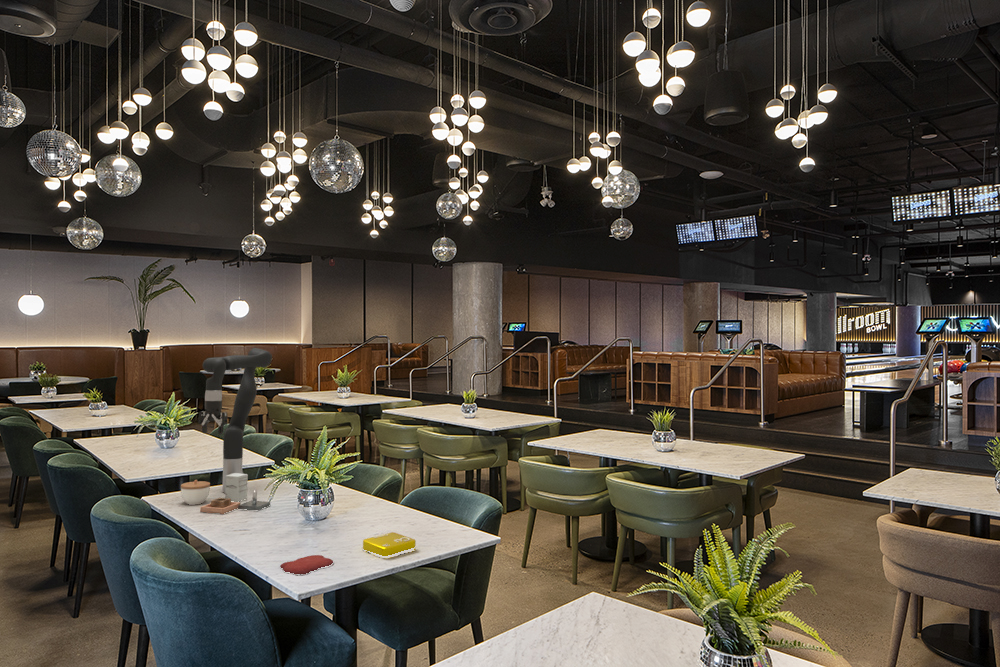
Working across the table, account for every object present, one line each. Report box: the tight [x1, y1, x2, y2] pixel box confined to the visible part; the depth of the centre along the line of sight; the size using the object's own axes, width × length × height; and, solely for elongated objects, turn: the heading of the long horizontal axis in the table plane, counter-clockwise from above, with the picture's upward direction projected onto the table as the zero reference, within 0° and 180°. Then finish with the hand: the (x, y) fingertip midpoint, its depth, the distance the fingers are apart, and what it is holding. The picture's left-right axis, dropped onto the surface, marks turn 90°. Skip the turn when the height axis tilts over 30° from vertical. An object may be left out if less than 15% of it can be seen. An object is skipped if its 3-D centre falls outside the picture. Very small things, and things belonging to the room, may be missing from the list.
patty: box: [279, 554, 334, 575], centre depth 216 cm, size 18×14×2 cm
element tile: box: [362, 532, 417, 556], centre depth 234 cm, size 15×15×5 cm
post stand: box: [237, 489, 271, 511], centre depth 292 cm, size 10×10×8 cm
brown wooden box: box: [210, 497, 231, 508], centre depth 287 cm, size 6×6×4 cm
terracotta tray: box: [199, 502, 242, 515], centre depth 287 cm, size 12×12×2 cm
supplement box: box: [224, 473, 249, 502], centre depth 306 cm, size 7×7×13 cm
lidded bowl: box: [180, 479, 211, 506], centre depth 300 cm, size 13×13×11 cm
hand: (212, 433), depth 301 cm, fingers open, 8 cm apart
